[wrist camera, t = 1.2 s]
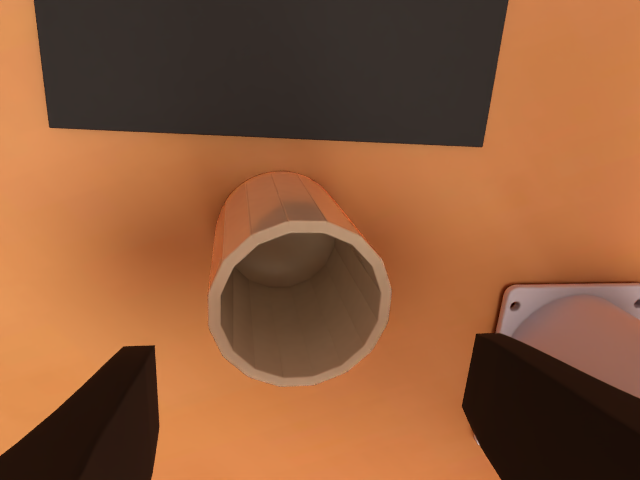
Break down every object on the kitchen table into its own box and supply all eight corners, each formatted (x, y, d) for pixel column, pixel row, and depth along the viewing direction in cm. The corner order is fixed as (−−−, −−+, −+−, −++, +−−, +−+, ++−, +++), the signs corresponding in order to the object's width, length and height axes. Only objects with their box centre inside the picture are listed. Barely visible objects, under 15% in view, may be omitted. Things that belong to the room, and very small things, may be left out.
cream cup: (335, 287, 21) (380, 382, 15) (216, 289, 20) (209, 391, 14) (345, 173, 19) (401, 222, 13) (216, 168, 18) (206, 219, 12)
